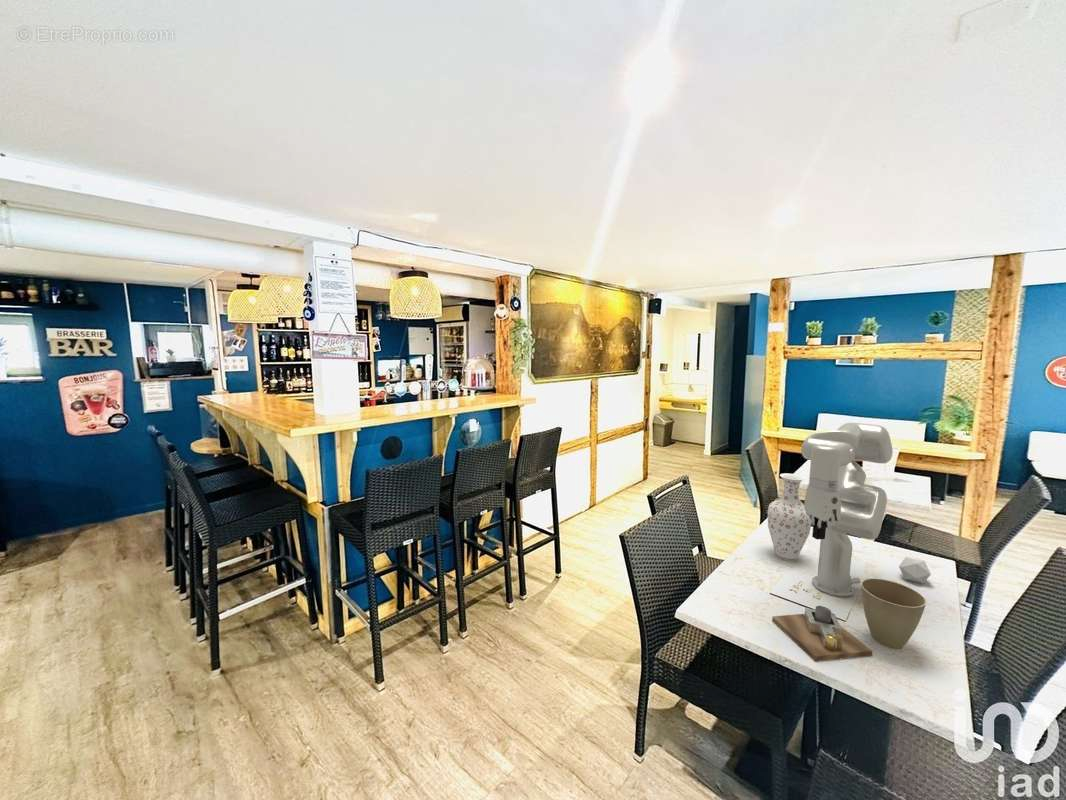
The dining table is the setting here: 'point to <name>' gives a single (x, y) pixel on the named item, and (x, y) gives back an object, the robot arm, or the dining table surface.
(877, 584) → the plant pot
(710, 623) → the dining table surface
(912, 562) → the die
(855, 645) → the board
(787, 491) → the vase
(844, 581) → the robot arm
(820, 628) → the square frame with handle
